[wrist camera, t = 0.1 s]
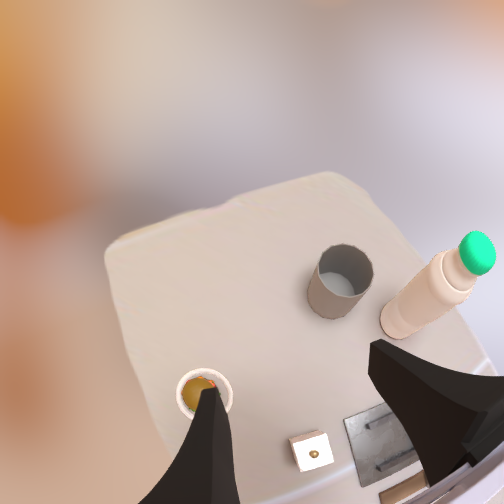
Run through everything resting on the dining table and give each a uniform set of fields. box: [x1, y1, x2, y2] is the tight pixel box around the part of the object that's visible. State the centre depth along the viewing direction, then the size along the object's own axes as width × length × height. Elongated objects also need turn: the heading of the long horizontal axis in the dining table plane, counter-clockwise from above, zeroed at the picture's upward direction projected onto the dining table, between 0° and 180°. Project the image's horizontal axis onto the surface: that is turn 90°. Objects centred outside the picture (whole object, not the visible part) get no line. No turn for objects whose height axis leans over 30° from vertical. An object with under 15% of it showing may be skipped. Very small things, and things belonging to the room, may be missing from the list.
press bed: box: [343, 402, 420, 487], centre depth 33 cm, size 13×13×2 cm
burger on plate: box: [176, 368, 233, 420], centre depth 38 cm, size 12×12×6 cm
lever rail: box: [379, 470, 426, 504], centre depth 29 cm, size 3×13×1 cm, turn 104°
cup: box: [307, 243, 374, 319], centre depth 43 cm, size 8×8×10 cm
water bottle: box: [380, 231, 496, 339], centre depth 33 cm, size 7×7×25 cm
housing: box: [289, 430, 334, 472], centre depth 32 cm, size 4×4×7 cm
